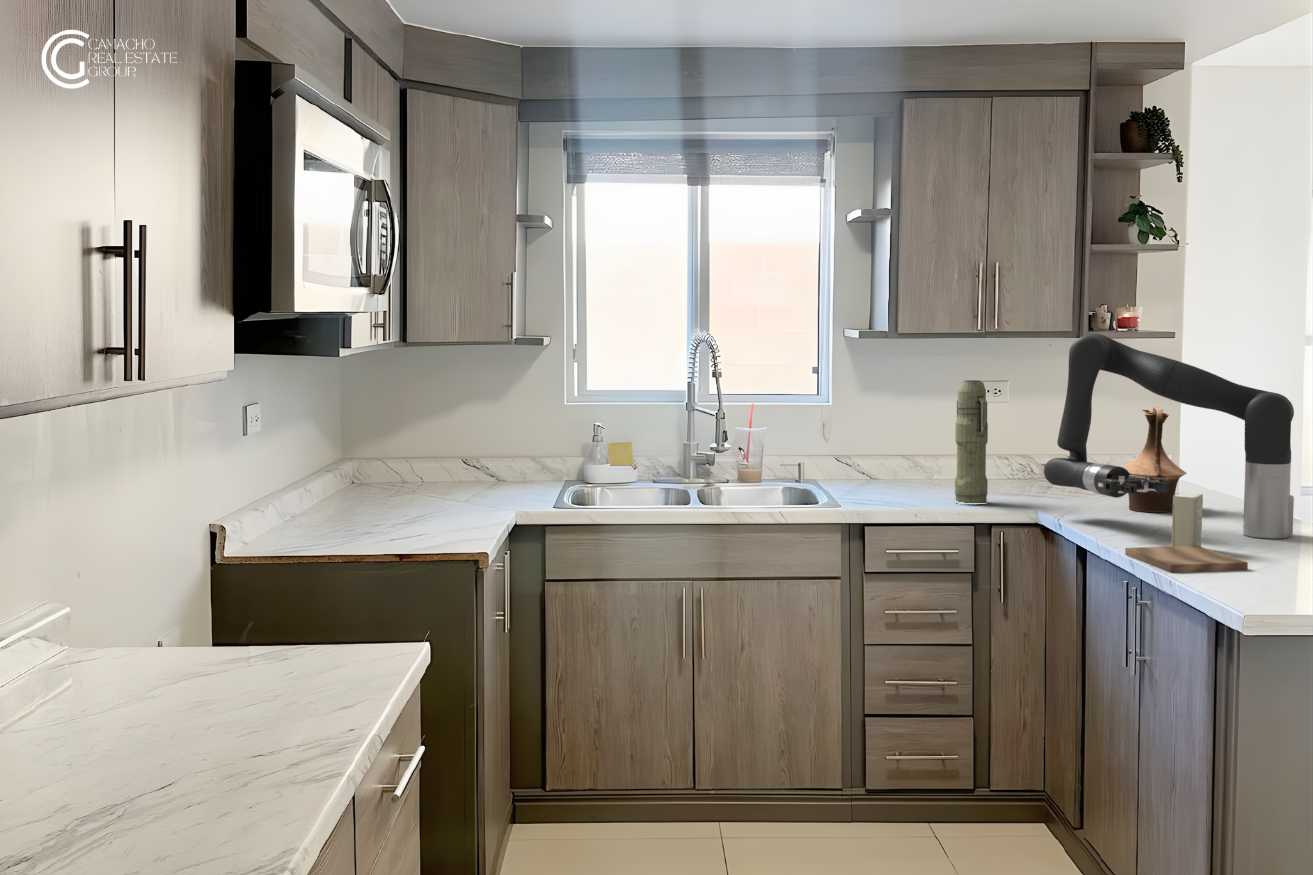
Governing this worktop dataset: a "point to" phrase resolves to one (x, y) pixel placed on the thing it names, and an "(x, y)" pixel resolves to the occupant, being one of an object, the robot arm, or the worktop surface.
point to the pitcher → (1154, 468)
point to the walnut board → (1186, 559)
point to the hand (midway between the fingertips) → (1151, 489)
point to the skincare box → (1187, 519)
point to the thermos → (971, 443)
